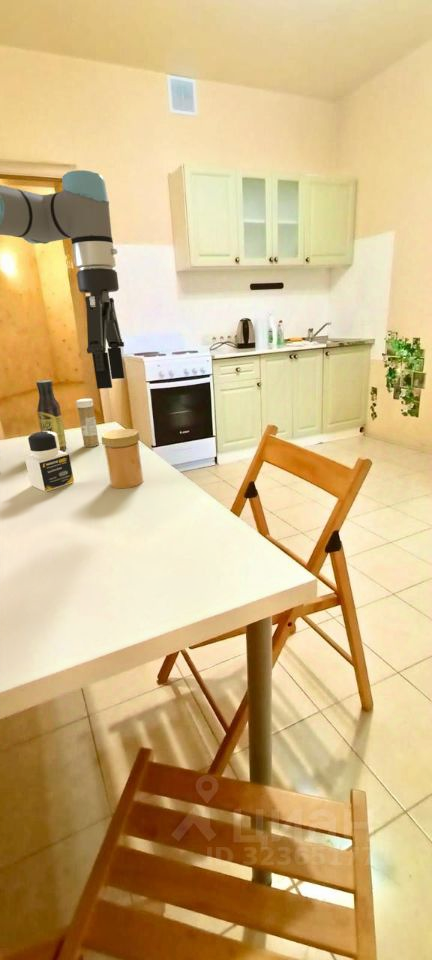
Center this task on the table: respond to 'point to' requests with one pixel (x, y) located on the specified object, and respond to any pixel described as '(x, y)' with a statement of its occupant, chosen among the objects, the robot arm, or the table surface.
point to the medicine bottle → (48, 462)
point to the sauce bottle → (50, 412)
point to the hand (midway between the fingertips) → (112, 383)
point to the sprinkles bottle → (87, 422)
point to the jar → (124, 466)
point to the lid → (120, 437)
